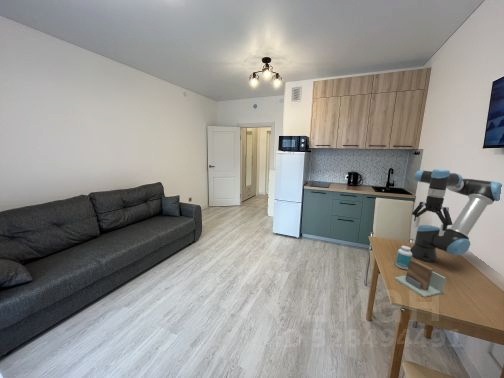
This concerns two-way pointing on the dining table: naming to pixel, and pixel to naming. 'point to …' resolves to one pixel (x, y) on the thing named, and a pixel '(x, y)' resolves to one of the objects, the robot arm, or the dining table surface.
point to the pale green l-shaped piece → (434, 286)
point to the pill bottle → (403, 257)
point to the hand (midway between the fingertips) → (427, 231)
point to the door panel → (419, 273)
